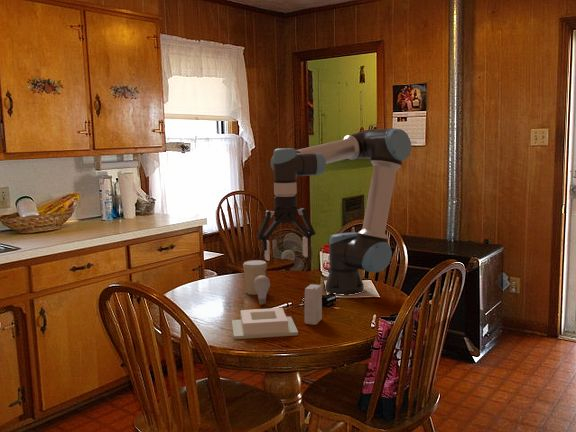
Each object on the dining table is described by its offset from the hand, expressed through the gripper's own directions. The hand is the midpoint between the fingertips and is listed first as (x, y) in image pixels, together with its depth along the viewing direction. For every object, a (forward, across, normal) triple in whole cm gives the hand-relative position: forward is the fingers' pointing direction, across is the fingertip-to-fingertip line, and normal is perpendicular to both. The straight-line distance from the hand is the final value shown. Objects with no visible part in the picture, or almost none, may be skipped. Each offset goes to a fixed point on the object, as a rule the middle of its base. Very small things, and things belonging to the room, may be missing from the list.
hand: (286, 258), depth 197 cm
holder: (+21, +11, +8) cm, 25 cm away
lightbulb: (+21, +3, -18) cm, 28 cm away
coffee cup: (+21, 0, -36) cm, 42 cm away
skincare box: (+21, -6, +7) cm, 23 cm away
